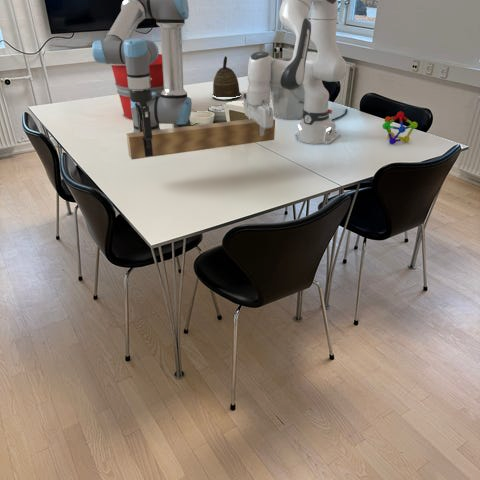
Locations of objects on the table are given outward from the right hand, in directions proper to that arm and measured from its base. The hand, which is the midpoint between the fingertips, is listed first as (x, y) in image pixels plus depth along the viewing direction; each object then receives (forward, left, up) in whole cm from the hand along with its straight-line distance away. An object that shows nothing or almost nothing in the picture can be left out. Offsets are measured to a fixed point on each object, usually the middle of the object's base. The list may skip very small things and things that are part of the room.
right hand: (257, 132), depth 178 cm
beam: (+21, -9, -3) cm, 23 cm away
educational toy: (-67, +29, -15) cm, 75 cm away
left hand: (+41, -18, -2) cm, 45 cm away
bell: (-72, -88, -15) cm, 115 cm away
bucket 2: (-69, -35, -15) cm, 79 cm away
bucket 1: (-15, -96, -15) cm, 98 cm away
